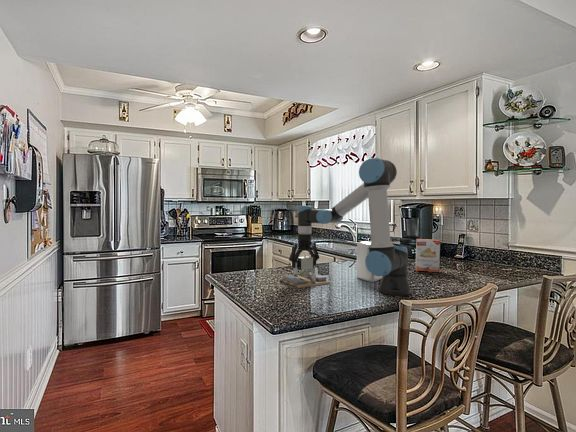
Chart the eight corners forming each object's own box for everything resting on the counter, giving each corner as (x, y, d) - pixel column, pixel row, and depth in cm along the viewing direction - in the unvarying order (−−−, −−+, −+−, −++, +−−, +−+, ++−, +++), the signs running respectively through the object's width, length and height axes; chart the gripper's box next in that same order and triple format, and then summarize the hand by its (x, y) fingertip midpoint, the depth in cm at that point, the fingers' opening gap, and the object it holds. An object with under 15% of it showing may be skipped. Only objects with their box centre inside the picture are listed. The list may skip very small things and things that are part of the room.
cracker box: (416, 271, 221) (416, 239, 220) (415, 270, 227) (416, 238, 226) (439, 273, 217) (440, 240, 216) (438, 271, 223) (439, 239, 222)
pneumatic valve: (316, 276, 190) (316, 255, 190) (297, 278, 185) (297, 256, 184) (310, 274, 195) (310, 253, 195) (292, 276, 190) (292, 255, 189)
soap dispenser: (374, 282, 189) (374, 243, 188) (350, 279, 198) (351, 241, 197) (384, 278, 201) (385, 240, 201) (362, 275, 210) (362, 239, 209)
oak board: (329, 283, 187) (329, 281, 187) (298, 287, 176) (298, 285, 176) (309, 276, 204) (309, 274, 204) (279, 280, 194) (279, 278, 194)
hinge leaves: (329, 281, 186) (329, 272, 186) (299, 285, 176) (299, 276, 176) (308, 274, 204) (308, 266, 204) (280, 278, 194) (280, 269, 194)
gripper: (318, 232, 198) (317, 269, 199) (282, 233, 186) (282, 273, 187) (326, 233, 192) (325, 271, 193) (289, 234, 180) (289, 276, 181)
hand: (304, 272), depth 190 cm, fingers closed on pneumatic valve, 11 cm apart
